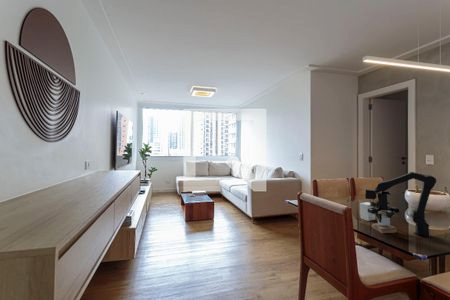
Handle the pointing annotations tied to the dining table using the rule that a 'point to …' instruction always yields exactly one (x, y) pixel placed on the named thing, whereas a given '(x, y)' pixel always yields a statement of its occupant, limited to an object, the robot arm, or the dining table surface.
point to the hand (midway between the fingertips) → (383, 222)
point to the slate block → (384, 221)
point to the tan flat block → (384, 228)
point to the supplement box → (366, 212)
